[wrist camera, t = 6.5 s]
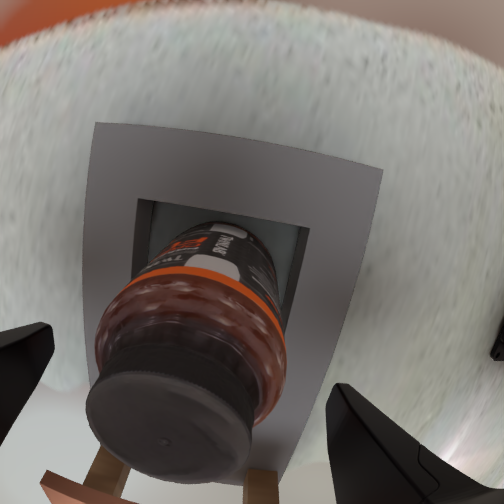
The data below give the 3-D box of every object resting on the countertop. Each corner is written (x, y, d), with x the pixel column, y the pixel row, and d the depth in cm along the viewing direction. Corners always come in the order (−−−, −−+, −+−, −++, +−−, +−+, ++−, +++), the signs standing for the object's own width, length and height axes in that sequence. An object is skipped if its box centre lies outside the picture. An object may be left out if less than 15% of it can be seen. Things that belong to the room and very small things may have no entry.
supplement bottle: (210, 194, 16) (116, 259, 5) (298, 270, 17) (358, 432, 6) (143, 279, 17) (26, 417, 6) (226, 344, 18) (199, 520, 7)
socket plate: (365, 168, 15) (383, 169, 13) (275, 464, 21) (276, 488, 19) (117, 126, 15) (95, 122, 12) (112, 433, 21) (102, 455, 18)
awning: (300, 436, 17) (314, 540, 10) (276, 488, 19) (279, 572, 11) (91, 395, 17) (39, 482, 9) (102, 455, 18) (69, 530, 11)
